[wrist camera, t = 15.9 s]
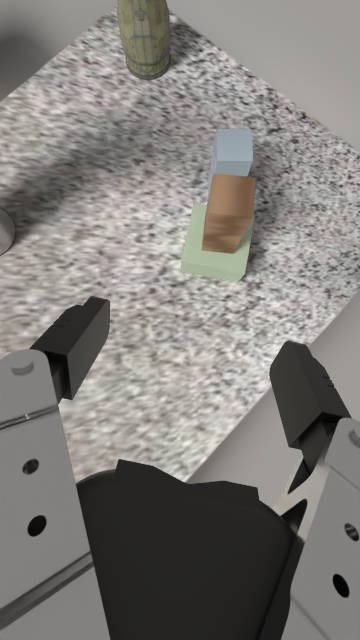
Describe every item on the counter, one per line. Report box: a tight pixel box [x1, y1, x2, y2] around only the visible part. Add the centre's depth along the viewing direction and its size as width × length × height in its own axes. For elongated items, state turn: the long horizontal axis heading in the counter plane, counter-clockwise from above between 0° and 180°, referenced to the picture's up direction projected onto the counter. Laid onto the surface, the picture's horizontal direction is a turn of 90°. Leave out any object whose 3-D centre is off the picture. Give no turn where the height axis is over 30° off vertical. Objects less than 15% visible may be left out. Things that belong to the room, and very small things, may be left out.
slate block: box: [208, 129, 253, 198], centre depth 38 cm, size 5×5×10 cm
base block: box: [181, 203, 255, 283], centre depth 39 cm, size 10×10×5 cm
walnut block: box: [201, 173, 256, 254], centre depth 32 cm, size 5×5×10 cm
